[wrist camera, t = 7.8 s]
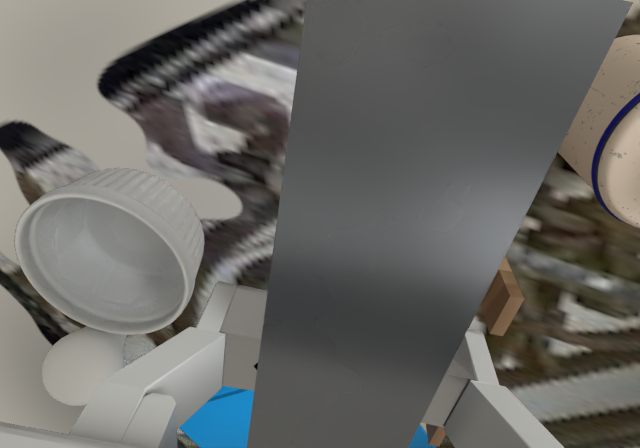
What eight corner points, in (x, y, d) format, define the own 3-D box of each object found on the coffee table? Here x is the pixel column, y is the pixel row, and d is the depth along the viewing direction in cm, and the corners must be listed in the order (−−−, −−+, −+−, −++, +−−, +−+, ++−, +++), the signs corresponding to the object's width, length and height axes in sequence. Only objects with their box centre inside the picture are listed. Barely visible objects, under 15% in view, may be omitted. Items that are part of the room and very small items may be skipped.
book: (439, 451, 46) (247, 493, 54) (433, 415, 50) (254, 459, 57) (368, 349, 39) (158, 415, 47) (367, 315, 42) (173, 382, 50)
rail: (530, -18, 8) (632, 2, 5) (350, 455, 16) (346, 568, 13) (335, -56, 8) (315, -61, 5) (257, 438, 16) (233, 547, 13)
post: (479, 199, 33) (524, 299, 24) (465, 230, 35) (502, 336, 25) (403, 184, 33) (418, 278, 24) (393, 216, 35) (403, 317, 25)
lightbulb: (122, 268, 41) (50, 361, 32) (170, 308, 43) (116, 406, 34) (86, 296, 43) (9, 390, 34) (134, 332, 45) (74, 429, 36)
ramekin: (38, 165, 36) (-27, 207, 30) (184, 140, 33) (146, 180, 27) (110, 287, 42) (69, 341, 36) (236, 274, 40) (213, 329, 34)
